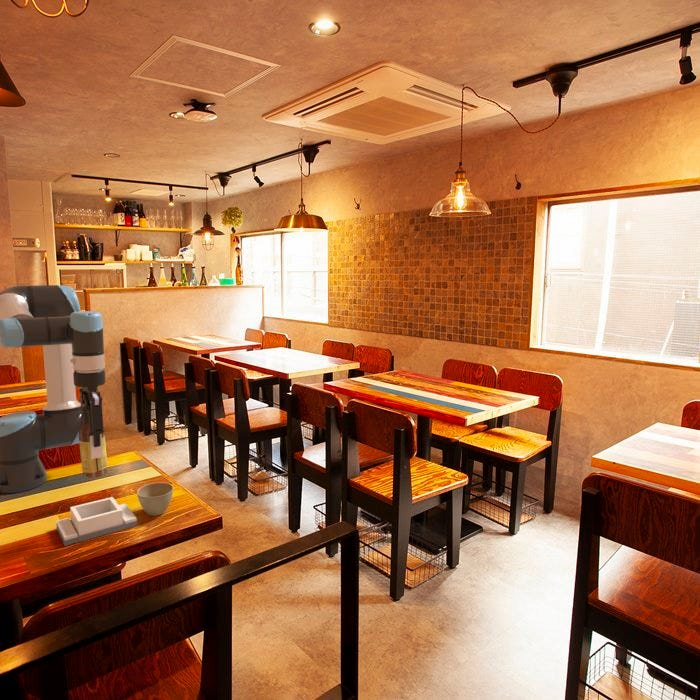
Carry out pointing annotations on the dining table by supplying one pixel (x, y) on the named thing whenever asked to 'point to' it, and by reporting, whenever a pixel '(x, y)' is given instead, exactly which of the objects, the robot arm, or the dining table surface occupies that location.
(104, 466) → the sauce bottle
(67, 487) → the dining table surface
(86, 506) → the caddy
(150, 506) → the flower pot
